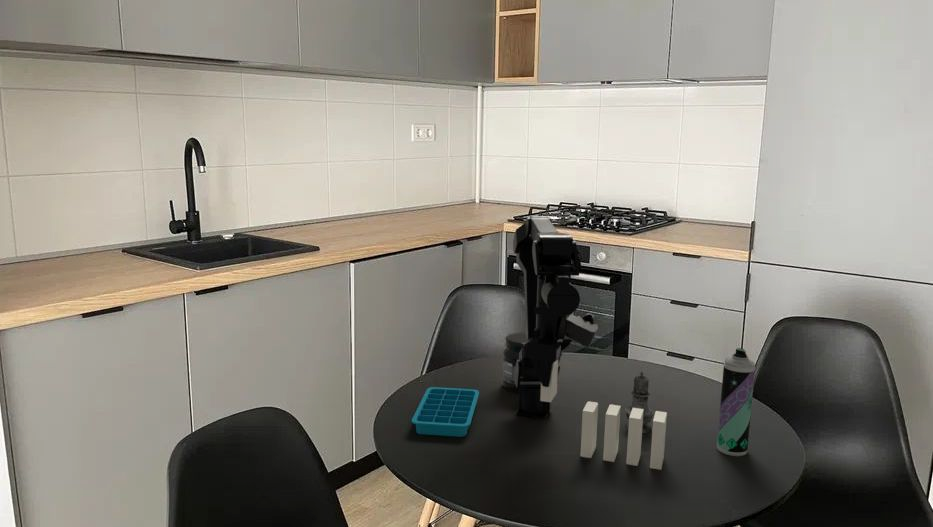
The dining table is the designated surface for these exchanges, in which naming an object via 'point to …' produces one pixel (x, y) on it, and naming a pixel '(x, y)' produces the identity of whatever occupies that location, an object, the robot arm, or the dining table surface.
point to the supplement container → (511, 359)
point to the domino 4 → (634, 436)
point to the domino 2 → (589, 429)
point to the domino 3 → (611, 433)
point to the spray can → (736, 404)
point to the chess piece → (641, 401)
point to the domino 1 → (550, 386)
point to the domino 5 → (658, 440)
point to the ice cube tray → (445, 411)
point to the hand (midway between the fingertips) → (549, 382)
